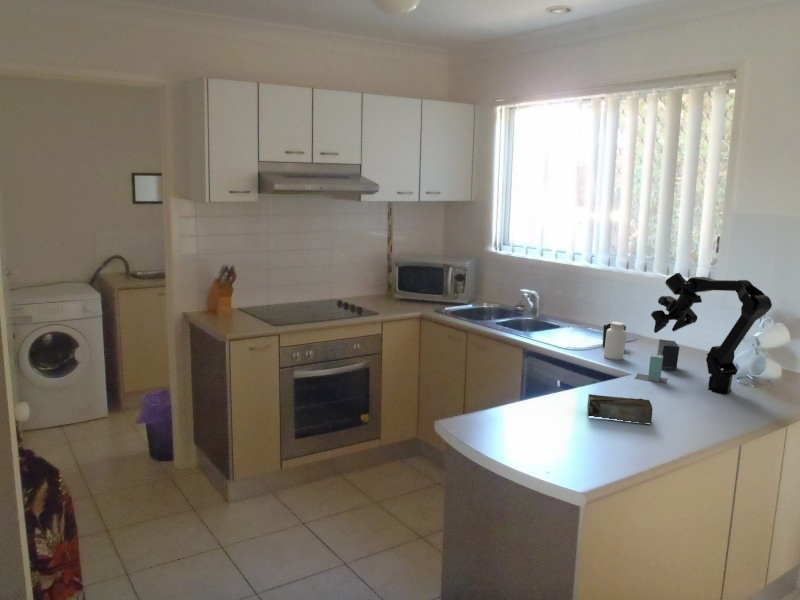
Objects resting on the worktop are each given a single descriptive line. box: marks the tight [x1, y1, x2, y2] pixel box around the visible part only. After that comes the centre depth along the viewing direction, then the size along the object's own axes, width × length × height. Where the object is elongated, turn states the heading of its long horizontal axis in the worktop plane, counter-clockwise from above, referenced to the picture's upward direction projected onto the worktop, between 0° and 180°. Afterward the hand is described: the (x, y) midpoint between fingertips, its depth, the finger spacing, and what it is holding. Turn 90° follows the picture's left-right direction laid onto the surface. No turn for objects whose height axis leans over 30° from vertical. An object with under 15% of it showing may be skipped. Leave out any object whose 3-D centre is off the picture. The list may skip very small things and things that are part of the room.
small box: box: [656, 338, 680, 372], centre depth 266 cm, size 11×6×10 cm, turn 168°
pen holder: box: [602, 322, 627, 348], centre depth 295 cm, size 9×9×10 cm
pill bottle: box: [603, 321, 627, 361], centre depth 277 cm, size 8×8×15 cm
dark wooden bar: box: [586, 393, 653, 424], centre depth 209 cm, size 8×19×7 cm, turn 77°
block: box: [647, 353, 663, 381], centre depth 249 cm, size 4×4×9 cm
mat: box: [634, 373, 669, 385], centre depth 250 cm, size 11×8×1 cm
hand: (663, 331), depth 263 cm, fingers open, 9 cm apart
